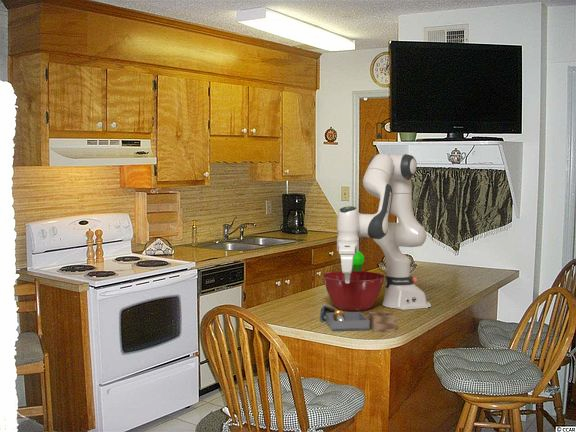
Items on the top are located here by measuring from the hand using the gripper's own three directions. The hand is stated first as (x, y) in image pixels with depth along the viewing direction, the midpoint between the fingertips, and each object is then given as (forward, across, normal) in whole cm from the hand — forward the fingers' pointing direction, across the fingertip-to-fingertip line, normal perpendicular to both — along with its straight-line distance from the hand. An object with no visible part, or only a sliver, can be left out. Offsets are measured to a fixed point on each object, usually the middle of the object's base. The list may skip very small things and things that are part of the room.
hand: (347, 280), depth 257 cm
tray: (+19, +1, 0) cm, 19 cm away
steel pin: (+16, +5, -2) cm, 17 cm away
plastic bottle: (+21, -75, 0) cm, 78 cm away
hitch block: (+19, +3, +14) cm, 24 cm away
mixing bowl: (+20, -33, +1) cm, 38 cm away
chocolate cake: (+19, -10, -7) cm, 23 cm away
